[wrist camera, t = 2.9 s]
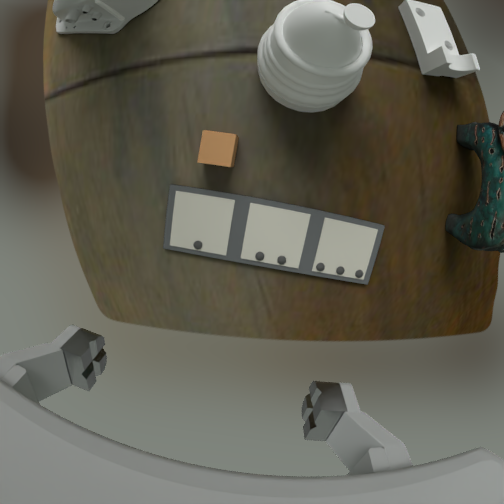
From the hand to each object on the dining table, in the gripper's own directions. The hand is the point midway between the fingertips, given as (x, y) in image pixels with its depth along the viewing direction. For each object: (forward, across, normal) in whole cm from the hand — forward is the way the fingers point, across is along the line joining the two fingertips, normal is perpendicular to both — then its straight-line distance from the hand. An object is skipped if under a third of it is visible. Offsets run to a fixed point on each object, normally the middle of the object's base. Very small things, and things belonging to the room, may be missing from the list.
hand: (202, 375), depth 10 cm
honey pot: (+30, -4, -22) cm, 38 cm away
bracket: (+30, -22, -36) cm, 52 cm away
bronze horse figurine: (+30, -32, -15) cm, 46 cm away
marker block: (+30, +5, -9) cm, 31 cm away
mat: (+30, -4, +1) cm, 30 cm away
